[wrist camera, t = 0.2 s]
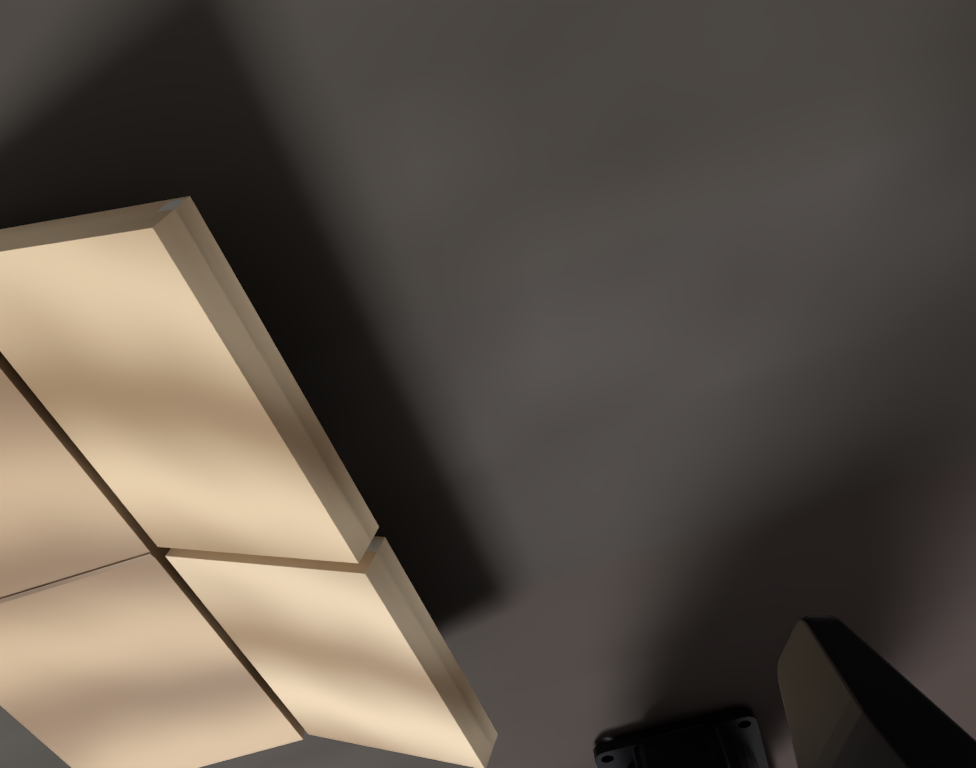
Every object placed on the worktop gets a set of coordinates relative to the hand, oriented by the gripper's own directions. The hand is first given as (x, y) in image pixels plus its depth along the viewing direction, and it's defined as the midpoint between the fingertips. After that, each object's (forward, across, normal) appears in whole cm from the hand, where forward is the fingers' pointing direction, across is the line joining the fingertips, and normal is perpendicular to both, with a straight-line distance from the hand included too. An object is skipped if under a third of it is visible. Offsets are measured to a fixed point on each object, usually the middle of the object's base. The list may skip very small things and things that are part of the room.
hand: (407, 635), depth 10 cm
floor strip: (+13, +11, +13) cm, 21 cm away
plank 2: (+12, +1, +14) cm, 18 cm away
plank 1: (+11, +5, +5) cm, 13 cm away
